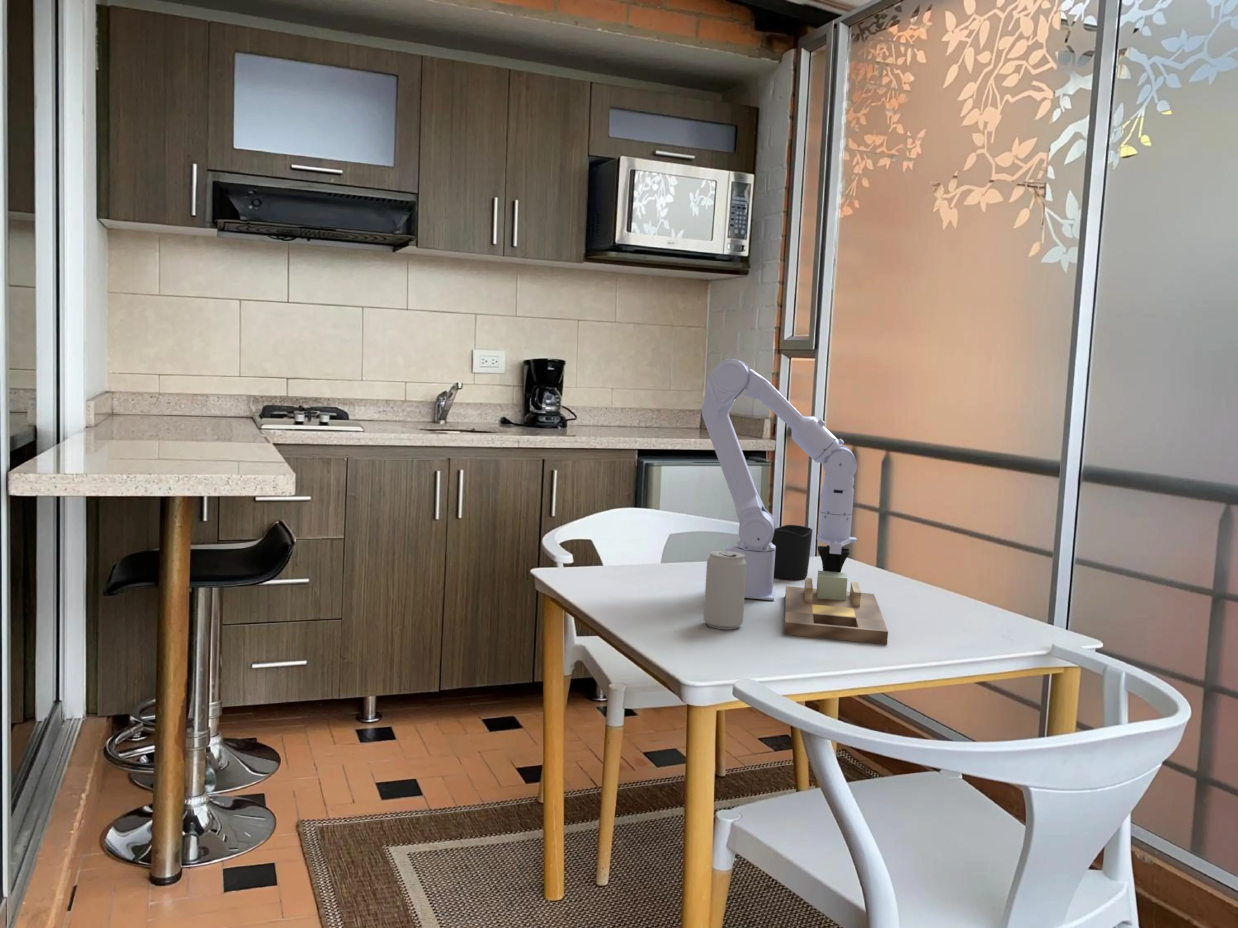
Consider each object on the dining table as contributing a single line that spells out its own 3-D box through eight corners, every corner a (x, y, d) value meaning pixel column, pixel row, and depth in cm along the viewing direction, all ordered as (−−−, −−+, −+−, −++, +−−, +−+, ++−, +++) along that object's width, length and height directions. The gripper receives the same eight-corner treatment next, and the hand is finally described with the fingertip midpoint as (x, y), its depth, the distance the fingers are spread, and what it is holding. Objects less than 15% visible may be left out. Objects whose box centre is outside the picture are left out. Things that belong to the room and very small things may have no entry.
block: (817, 597, 184) (818, 575, 184) (816, 592, 189) (818, 570, 189) (845, 600, 183) (847, 578, 183) (844, 594, 188) (846, 572, 188)
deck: (784, 634, 166) (786, 606, 165) (785, 596, 193) (787, 572, 193) (887, 644, 163) (889, 616, 163) (873, 604, 191) (875, 580, 190)
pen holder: (808, 582, 207) (812, 533, 206) (761, 578, 209) (764, 529, 208) (809, 573, 216) (813, 526, 215) (764, 569, 218) (767, 522, 217)
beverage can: (716, 631, 165) (721, 557, 164) (695, 621, 171) (700, 550, 169) (749, 629, 168) (755, 556, 167) (728, 619, 174) (732, 548, 172)
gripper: (861, 520, 181) (855, 596, 183) (855, 509, 195) (850, 579, 197) (820, 517, 182) (814, 592, 184) (817, 506, 197) (812, 576, 198)
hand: (830, 586), depth 190 cm, fingers closed
